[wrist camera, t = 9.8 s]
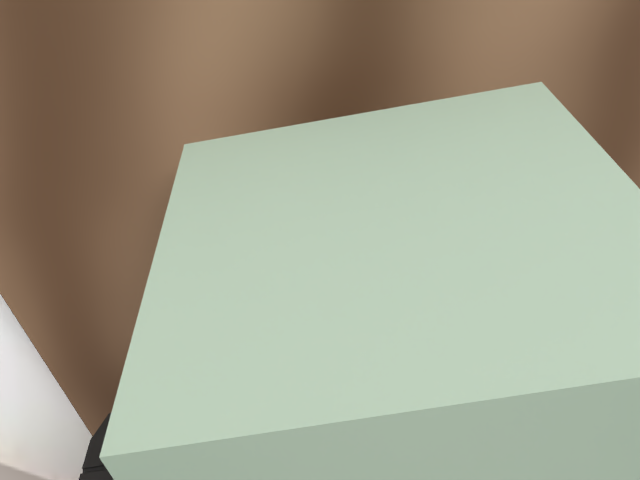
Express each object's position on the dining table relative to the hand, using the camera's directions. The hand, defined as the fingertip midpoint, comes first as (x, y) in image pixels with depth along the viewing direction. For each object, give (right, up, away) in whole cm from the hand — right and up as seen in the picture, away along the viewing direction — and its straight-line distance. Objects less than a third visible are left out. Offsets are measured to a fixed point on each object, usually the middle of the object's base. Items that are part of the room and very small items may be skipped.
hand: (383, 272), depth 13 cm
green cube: (0, 0, +1) cm, 1 cm away
